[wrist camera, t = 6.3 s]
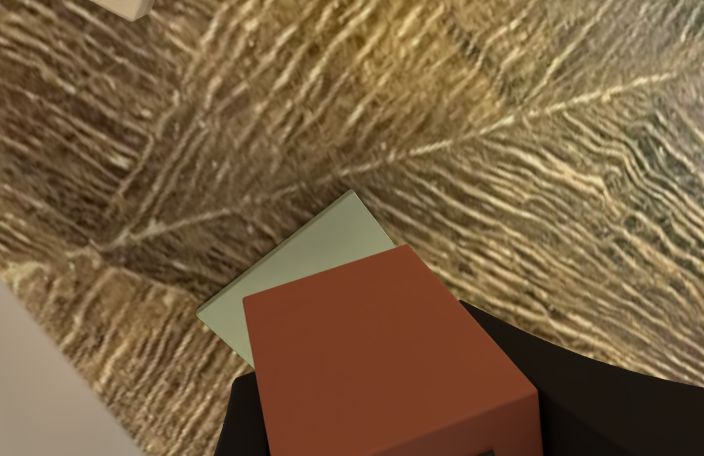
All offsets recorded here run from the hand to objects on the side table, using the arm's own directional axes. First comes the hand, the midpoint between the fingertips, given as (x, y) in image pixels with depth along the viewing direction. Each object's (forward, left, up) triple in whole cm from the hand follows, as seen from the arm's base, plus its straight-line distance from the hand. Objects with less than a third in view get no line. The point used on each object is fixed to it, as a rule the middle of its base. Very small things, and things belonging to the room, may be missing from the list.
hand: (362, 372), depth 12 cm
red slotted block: (0, 0, -1) cm, 1 cm away
